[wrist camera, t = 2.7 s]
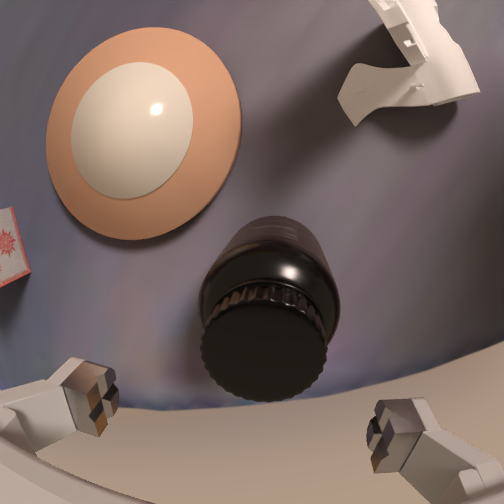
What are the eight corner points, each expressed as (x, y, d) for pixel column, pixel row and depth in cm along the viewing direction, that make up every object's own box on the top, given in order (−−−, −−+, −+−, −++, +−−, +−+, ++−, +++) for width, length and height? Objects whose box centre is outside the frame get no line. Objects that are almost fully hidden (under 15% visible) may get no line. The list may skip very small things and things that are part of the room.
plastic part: (461, 99, 18) (562, 68, 7) (351, 130, 20) (415, 92, 9) (421, 15, 17) (490, -58, 6) (308, 37, 19) (323, -62, 7)
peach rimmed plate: (250, 28, 19) (247, 19, 17) (234, 245, 23) (229, 250, 21) (68, 51, 20) (57, 46, 19) (56, 228, 24) (44, 232, 23)
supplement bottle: (211, 277, 24) (146, 369, 12) (257, 196, 22) (221, 225, 10) (291, 322, 24) (288, 440, 12) (341, 246, 22) (392, 325, 10)
